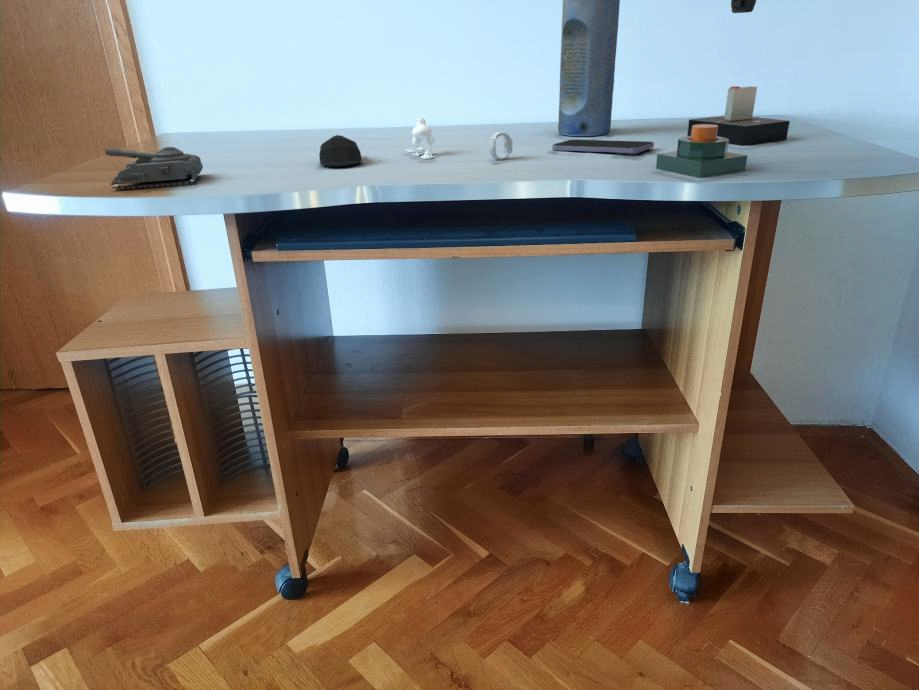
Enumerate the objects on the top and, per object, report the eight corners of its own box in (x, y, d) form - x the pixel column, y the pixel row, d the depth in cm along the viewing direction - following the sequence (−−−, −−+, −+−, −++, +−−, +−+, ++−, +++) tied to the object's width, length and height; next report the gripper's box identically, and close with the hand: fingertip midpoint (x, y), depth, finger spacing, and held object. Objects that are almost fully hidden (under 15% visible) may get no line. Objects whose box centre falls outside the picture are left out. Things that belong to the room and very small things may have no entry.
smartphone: (571, 139, 109) (656, 141, 101) (571, 146, 110) (655, 149, 101) (549, 145, 104) (637, 148, 95) (549, 152, 104) (637, 156, 96)
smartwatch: (493, 161, 97) (494, 133, 95) (485, 159, 98) (485, 132, 97) (512, 158, 99) (513, 131, 97) (504, 157, 100) (504, 130, 98)
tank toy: (107, 193, 86) (96, 153, 84) (121, 179, 94) (112, 143, 92) (201, 185, 89) (192, 146, 86) (207, 173, 97) (199, 137, 95)
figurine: (432, 148, 110) (431, 114, 108) (439, 158, 101) (437, 121, 99) (406, 150, 109) (403, 116, 107) (410, 160, 101) (407, 123, 98)
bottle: (547, 134, 120) (551, -52, 107) (581, 128, 126) (589, -49, 113) (587, 138, 114) (597, -59, 101) (621, 132, 119) (634, -56, 106)
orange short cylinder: (721, 142, 83) (723, 125, 82) (703, 144, 82) (705, 128, 81) (703, 139, 86) (705, 123, 85) (685, 141, 85) (686, 125, 84)
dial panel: (786, 139, 105) (790, 119, 103) (742, 146, 101) (745, 125, 100) (729, 132, 115) (731, 113, 113) (686, 137, 111) (689, 118, 109)
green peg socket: (745, 171, 84) (750, 139, 82) (699, 178, 81) (703, 145, 79) (699, 162, 90) (703, 132, 89) (655, 168, 87) (658, 138, 86)
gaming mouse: (357, 152, 110) (354, 127, 108) (363, 167, 97) (360, 139, 95) (320, 154, 109) (317, 130, 107) (320, 170, 96) (317, 142, 94)
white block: (745, 118, 108) (750, 84, 106) (752, 118, 107) (757, 85, 105) (723, 120, 106) (728, 86, 104) (730, 121, 105) (735, 87, 103)
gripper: (750, -172, 68) (728, 12, 75) (832, -162, 73) (803, 9, 81) (697, -153, 74) (681, 15, 81) (776, -145, 79) (754, 13, 87)
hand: (742, 12), depth 81 cm, fingers closed
